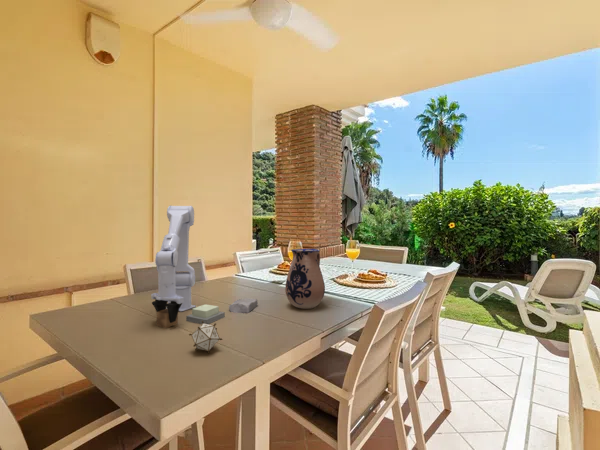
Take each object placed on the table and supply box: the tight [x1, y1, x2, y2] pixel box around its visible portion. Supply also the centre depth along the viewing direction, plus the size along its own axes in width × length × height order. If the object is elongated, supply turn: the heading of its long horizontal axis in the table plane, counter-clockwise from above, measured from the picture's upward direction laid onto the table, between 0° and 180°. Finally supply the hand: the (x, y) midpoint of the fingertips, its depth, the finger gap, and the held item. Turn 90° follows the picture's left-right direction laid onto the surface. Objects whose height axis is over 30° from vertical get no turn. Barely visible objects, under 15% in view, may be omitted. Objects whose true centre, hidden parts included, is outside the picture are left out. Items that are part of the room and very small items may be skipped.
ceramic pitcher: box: [284, 248, 326, 310], centre depth 134 cm, size 18×21×25 cm
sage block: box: [191, 303, 220, 318], centre depth 116 cm, size 7×7×2 cm
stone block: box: [228, 297, 258, 314], centre depth 129 cm, size 12×5×10 cm
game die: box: [188, 321, 223, 355], centre depth 88 cm, size 9×8×10 cm
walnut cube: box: [156, 309, 179, 329], centre depth 109 cm, size 5×5×5 cm
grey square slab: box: [185, 310, 226, 325], centre depth 116 cm, size 10×10×2 cm
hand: (167, 320), depth 109 cm, fingers closed on walnut cube, 5 cm apart
